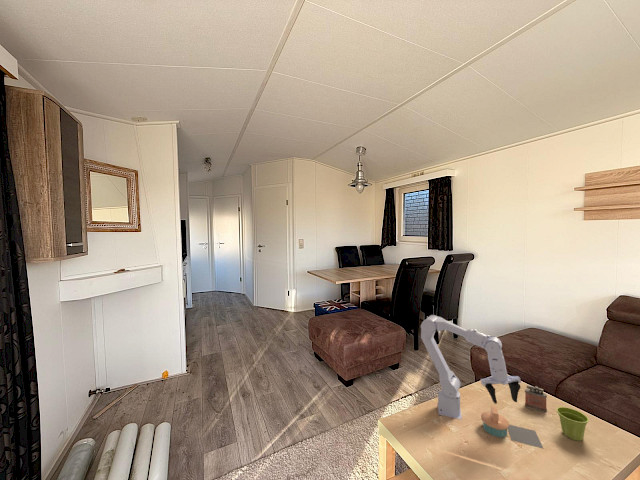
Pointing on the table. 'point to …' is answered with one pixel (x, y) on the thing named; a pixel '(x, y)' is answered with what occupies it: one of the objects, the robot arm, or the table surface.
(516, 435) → the mat
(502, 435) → the bowl
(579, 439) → the plant pot
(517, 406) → the table surface
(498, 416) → the lid
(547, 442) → the table surface
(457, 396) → the robot arm
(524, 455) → the table surface
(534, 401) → the lighter
